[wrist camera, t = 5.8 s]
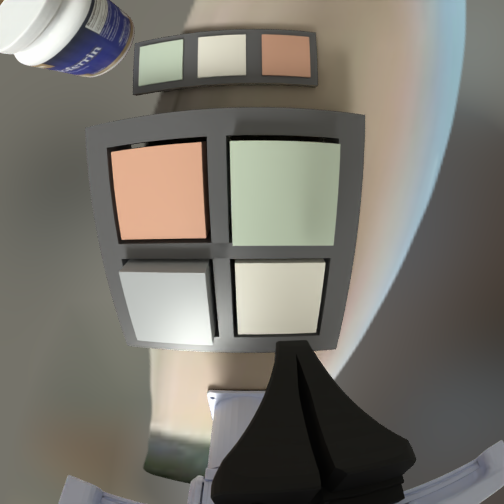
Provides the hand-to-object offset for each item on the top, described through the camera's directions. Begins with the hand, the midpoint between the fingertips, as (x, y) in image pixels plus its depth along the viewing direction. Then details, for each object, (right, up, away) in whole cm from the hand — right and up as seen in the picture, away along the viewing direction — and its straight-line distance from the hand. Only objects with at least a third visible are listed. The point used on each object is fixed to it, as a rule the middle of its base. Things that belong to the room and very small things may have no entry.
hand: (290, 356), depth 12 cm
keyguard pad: (-4, +6, +8) cm, 10 cm away
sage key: (0, +9, +5) cm, 10 cm away
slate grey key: (-7, +2, +7) cm, 10 cm away
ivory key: (0, +3, +8) cm, 9 cm away
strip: (-4, +17, +3) cm, 18 cm away
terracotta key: (-7, +9, +6) cm, 13 cm away
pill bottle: (-13, +20, +2) cm, 24 cm away
